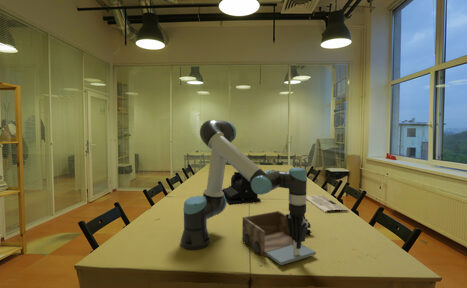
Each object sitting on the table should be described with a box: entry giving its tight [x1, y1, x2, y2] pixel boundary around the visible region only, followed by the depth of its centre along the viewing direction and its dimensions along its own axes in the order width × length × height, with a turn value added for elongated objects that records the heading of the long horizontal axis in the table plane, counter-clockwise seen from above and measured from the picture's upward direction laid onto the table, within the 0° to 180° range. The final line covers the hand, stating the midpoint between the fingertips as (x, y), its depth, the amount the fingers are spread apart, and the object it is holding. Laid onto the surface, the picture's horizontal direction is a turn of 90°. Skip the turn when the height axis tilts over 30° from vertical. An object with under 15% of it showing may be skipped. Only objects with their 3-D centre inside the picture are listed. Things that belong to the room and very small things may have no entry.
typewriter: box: [222, 171, 262, 206], centre depth 200 cm, size 31×27×25 cm
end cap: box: [305, 218, 312, 236], centre depth 133 cm, size 10×7×7 cm
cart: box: [241, 210, 293, 257], centre depth 120 cm, size 20×26×12 cm
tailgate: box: [266, 243, 317, 266], centre depth 106 cm, size 2×20×11 cm
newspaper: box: [306, 195, 349, 214], centre depth 183 cm, size 37×19×3 cm, turn 5°
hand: (296, 254), depth 103 cm, fingers closed
